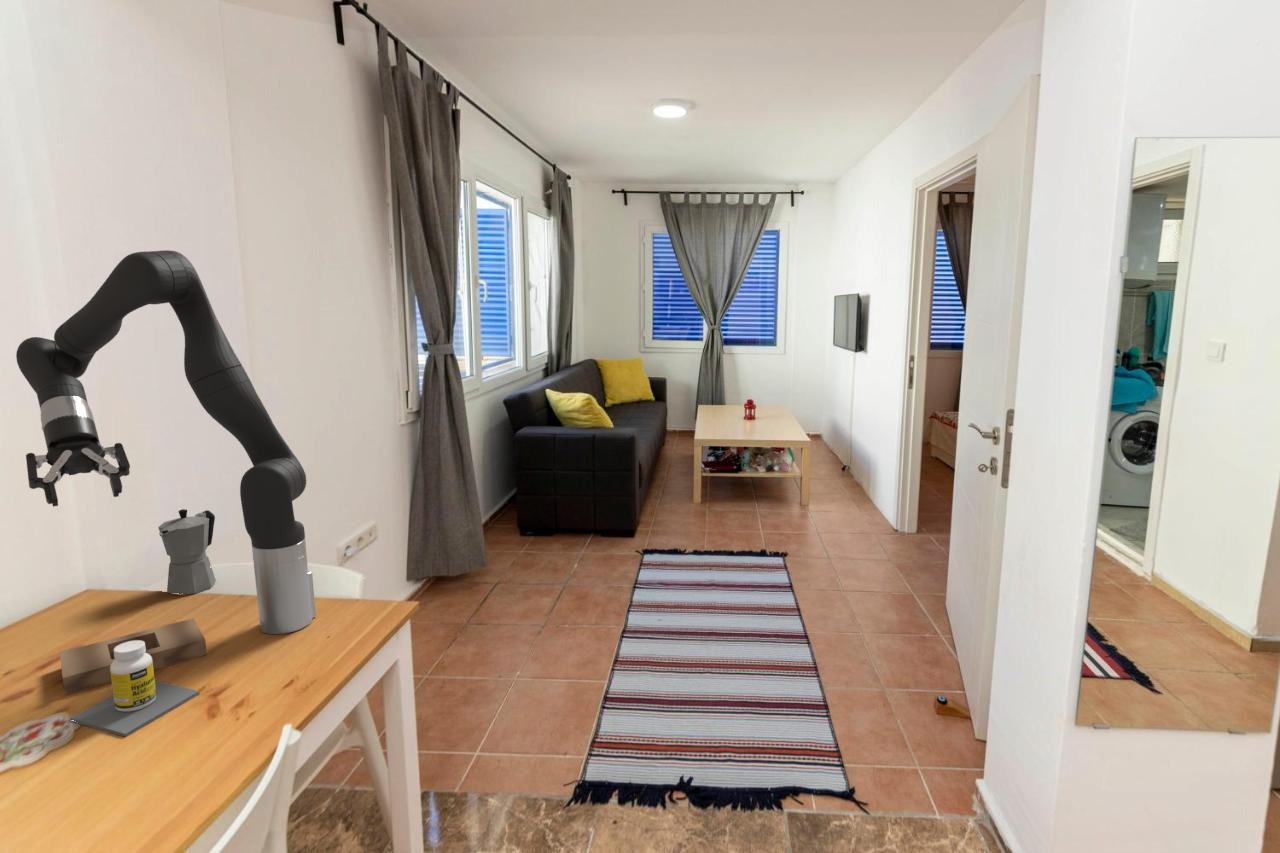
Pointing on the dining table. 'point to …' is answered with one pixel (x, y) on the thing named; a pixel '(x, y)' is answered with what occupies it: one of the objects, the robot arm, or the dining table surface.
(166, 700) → the slate pad
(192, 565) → the coffeepot
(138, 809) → the dining table surface
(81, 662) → the bottle holder tray
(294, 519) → the robot arm
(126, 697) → the supplement bottle
